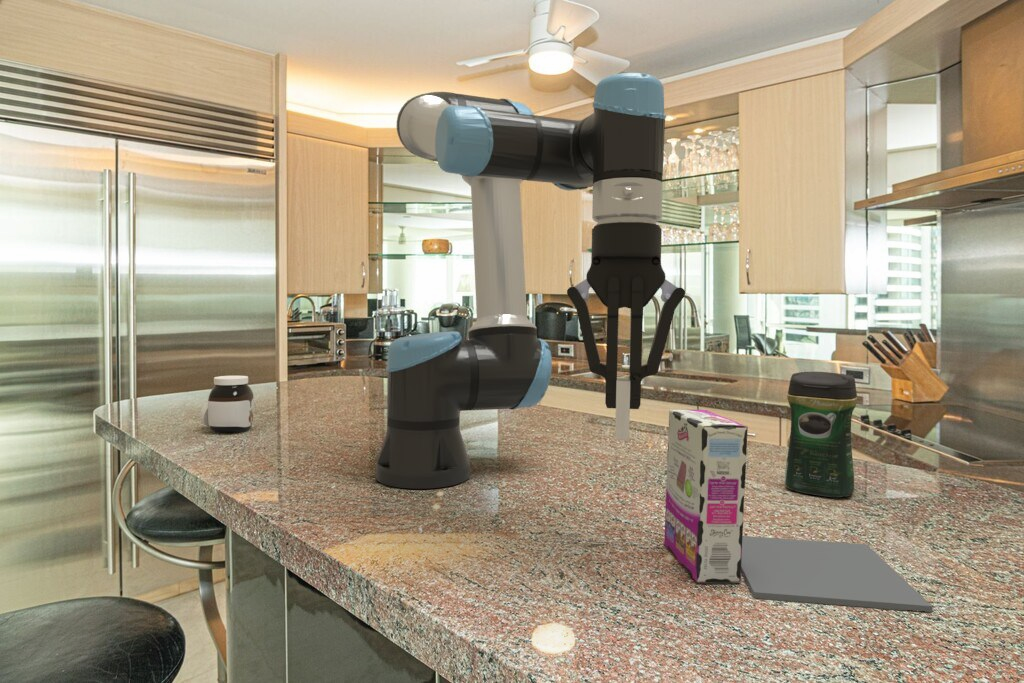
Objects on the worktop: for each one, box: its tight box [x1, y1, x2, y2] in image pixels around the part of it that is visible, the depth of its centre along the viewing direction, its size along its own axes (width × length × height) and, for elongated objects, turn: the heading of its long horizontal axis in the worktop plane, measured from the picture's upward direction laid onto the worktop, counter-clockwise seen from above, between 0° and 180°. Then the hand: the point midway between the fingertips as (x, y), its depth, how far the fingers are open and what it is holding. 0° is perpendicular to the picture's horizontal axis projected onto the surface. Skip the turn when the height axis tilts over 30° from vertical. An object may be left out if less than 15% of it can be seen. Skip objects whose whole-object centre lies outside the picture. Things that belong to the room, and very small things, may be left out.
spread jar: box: [199, 375, 255, 435], centre depth 141 cm, size 12×11×12 cm
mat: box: [741, 535, 934, 613], centre depth 70 cm, size 16×16×1 cm
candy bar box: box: [663, 409, 749, 584], centre depth 71 cm, size 11×5×16 cm, turn 5°
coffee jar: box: [784, 371, 858, 498], centre depth 100 cm, size 10×8×19 cm
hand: (621, 437), depth 72 cm, fingers closed
